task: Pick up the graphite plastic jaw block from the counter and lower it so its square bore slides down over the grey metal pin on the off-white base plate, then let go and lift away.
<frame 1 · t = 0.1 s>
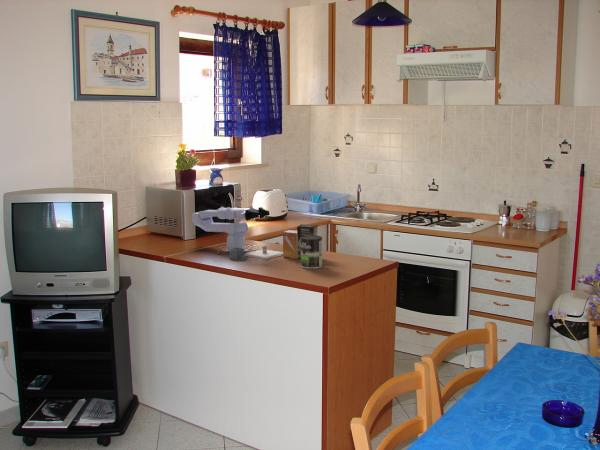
hand: (263, 214, 348), 22 cm above the table, tool horizontal, fingers open, 7 cm apart
jaw block: (236, 258, 346), on the table
coffee can: (311, 266, 327), on the table
pin plate: (264, 255, 353), on the table
small box: (293, 257, 348), on the table, touching coffee box
coffee box: (307, 257, 346), on the table, touching small box
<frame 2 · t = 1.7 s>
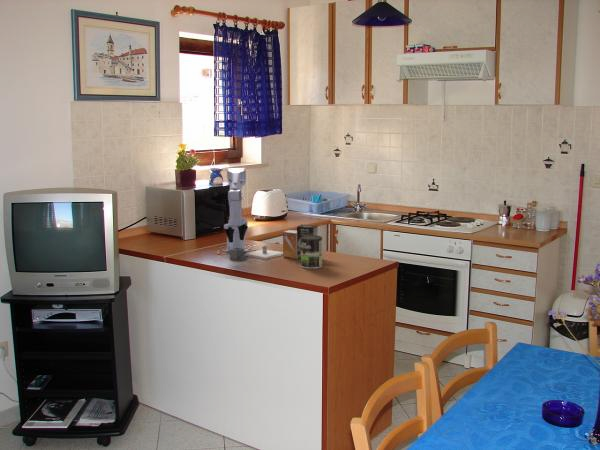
hand: (236, 241, 345), 9 cm above the table, tool pointing down, fingers open, 7 cm apart
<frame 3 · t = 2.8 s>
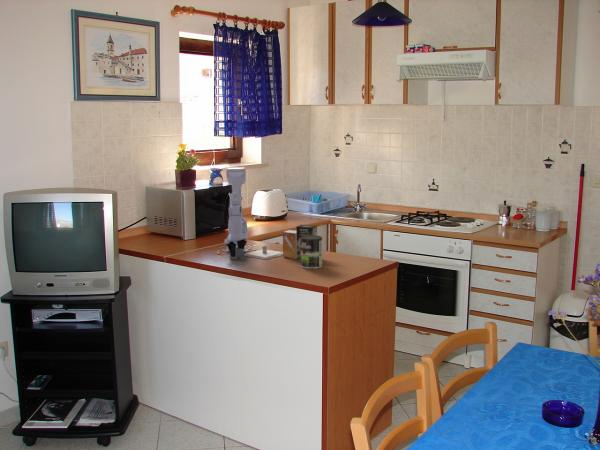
hand: (236, 255, 346), 2 cm above the table, tool pointing down, fingers closed on jaw block, 5 cm apart
jaw block: (236, 258, 346), on the table, touching gripper
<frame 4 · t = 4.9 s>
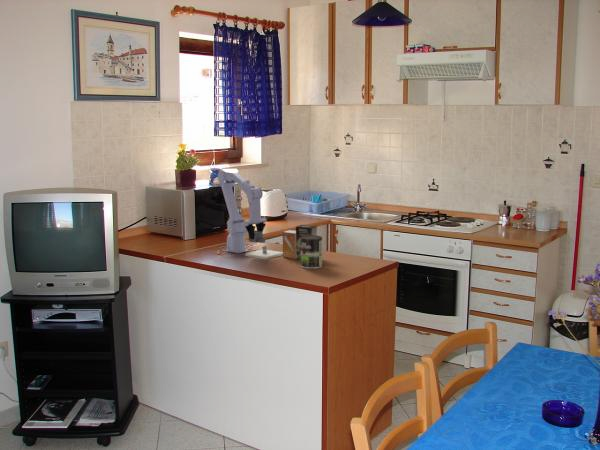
hand: (255, 238, 349), 9 cm above the table, tool pointing down, fingers closed on jaw block, 5 cm apart
jaw block: (255, 241, 349), point 8 cm above the table, touching gripper
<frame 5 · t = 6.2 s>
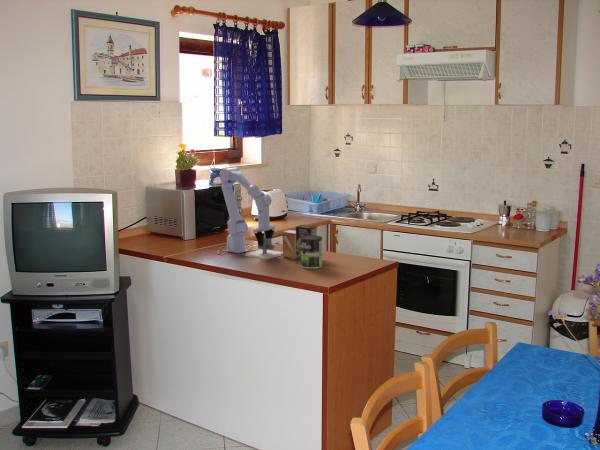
hand: (264, 245, 352), 5 cm above the table, tool pointing down, fingers closed on jaw block, 5 cm apart
jaw block: (264, 248, 352), point 4 cm above the table, touching gripper
when the fingers open (4 cm above the table, at t = 7.1 s): jaw block drops 1 cm, resting on pin plate.
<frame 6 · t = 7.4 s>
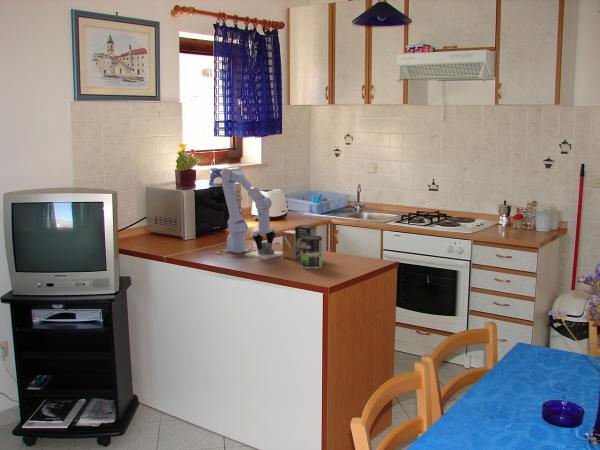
hand: (264, 247, 352), 4 cm above the table, tool pointing down, fingers open, 7 cm apart
jaw block: (264, 253, 353), point 1 cm above the table, touching pin plate
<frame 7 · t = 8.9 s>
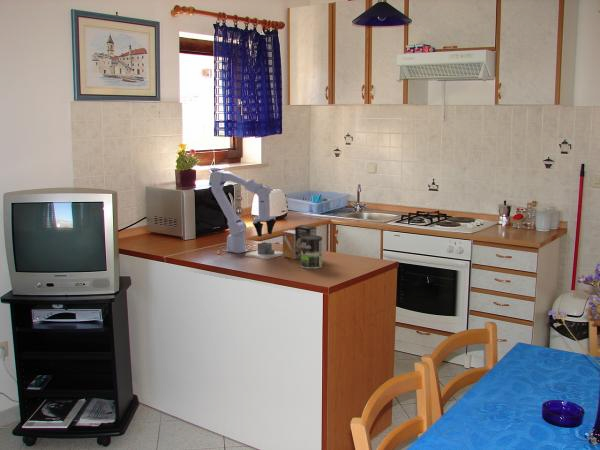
hand: (264, 235, 358), 9 cm above the table, tool pointing down, fingers open, 7 cm apart
coffee box: (305, 258, 344), on the table, touching small box
everything else where it was.
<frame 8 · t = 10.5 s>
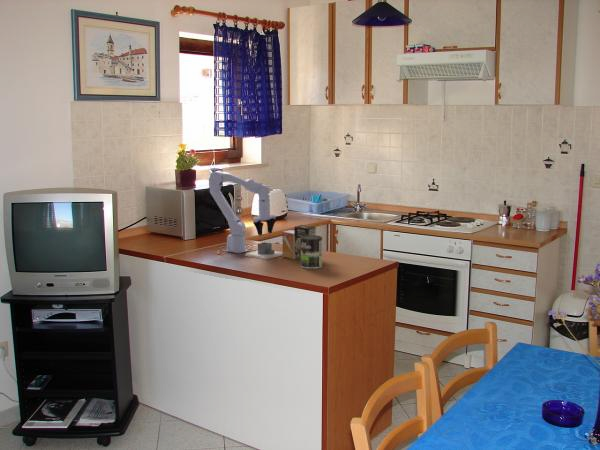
hand: (265, 234, 360), 9 cm above the table, tool pointing down, fingers open, 7 cm apart
coffee box: (305, 258, 344), on the table, touching small box
at the end: jaw block 0.1 cm off-centre on the pin plate, point 1.2 cm above the pin plate's base; jaw block tilted 0°; the gripper is holding nothing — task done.
